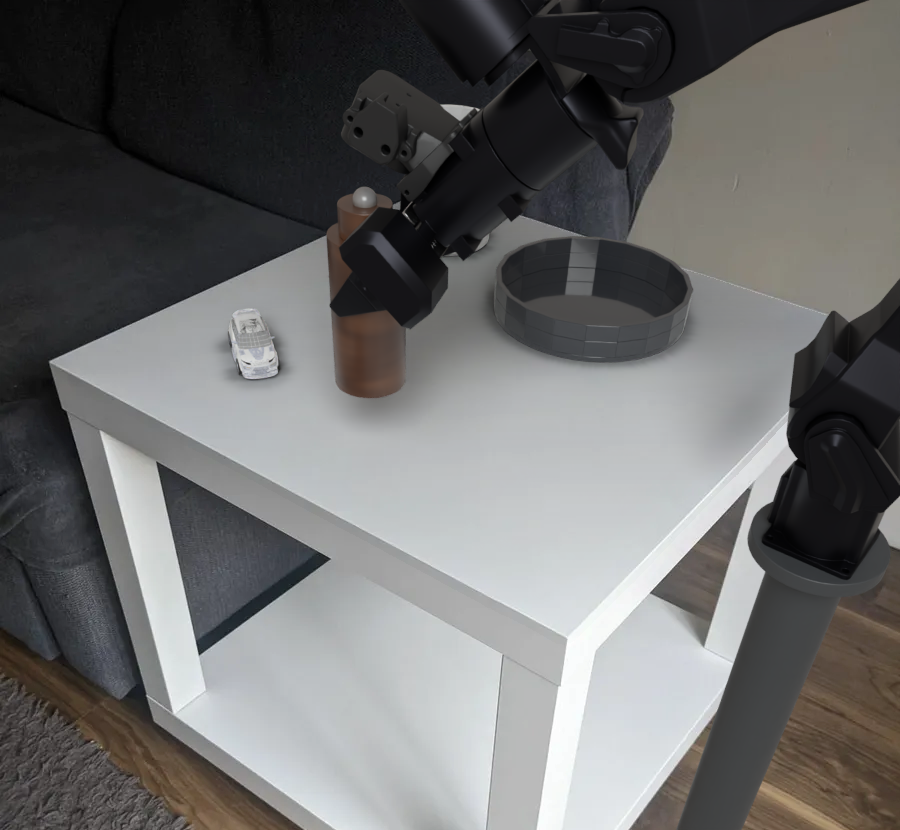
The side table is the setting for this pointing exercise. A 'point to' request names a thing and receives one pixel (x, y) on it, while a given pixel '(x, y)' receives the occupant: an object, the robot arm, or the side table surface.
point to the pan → (591, 298)
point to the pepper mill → (363, 316)
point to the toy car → (252, 345)
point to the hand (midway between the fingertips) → (349, 292)
